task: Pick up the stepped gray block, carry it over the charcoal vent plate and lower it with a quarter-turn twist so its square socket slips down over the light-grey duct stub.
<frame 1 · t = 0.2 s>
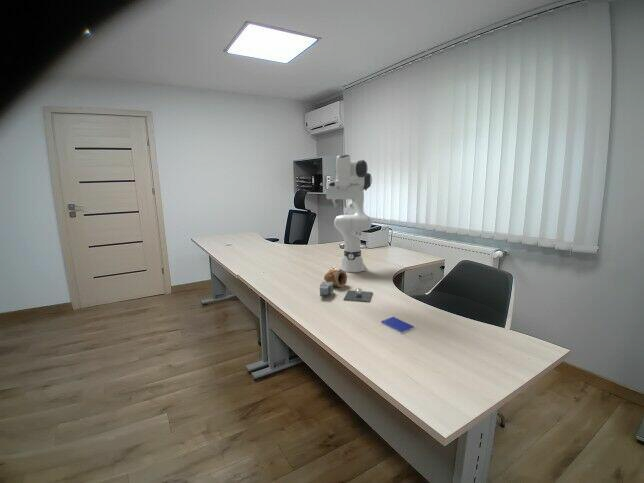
hand: (343, 207, 192), 48 cm above the table, fingers open, 8 cm apart
clay pipe: (335, 284, 203), on the table
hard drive: (397, 327, 146), on the table
stepped gray block: (326, 293, 186), on the table
duct plate: (358, 296, 181), on the table
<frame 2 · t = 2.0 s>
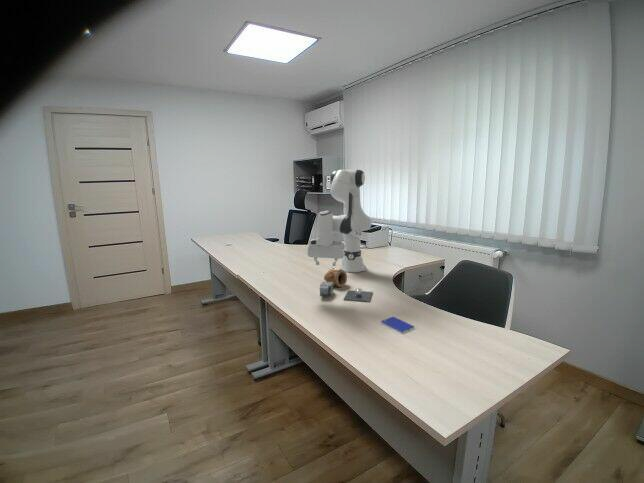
hand: (325, 265, 181), 17 cm above the table, fingers open, 8 cm apart
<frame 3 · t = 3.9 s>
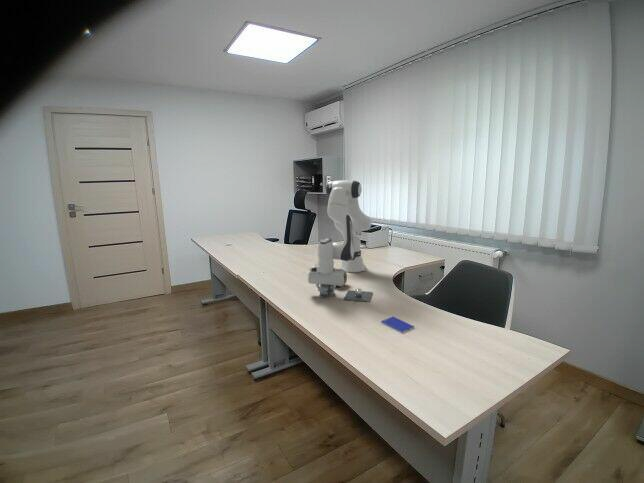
hand: (326, 291, 184), 2 cm above the table, fingers closed on stepped gray block, 6 cm apart
stepped gray block: (326, 293, 186), on the table, touching gripper
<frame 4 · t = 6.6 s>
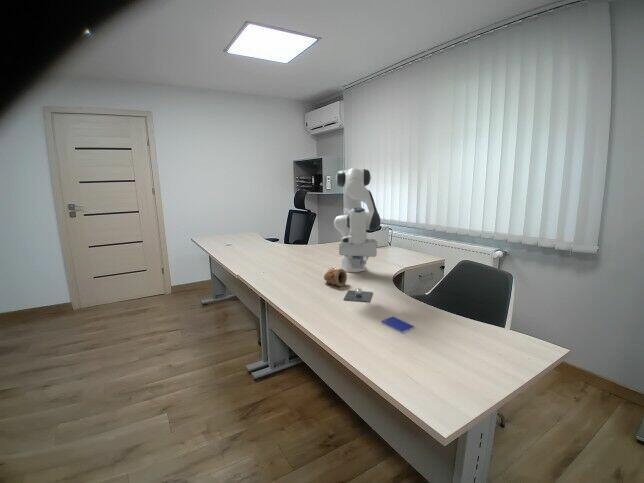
hand: (357, 263, 176), 19 cm above the table, fingers closed on stepped gray block, 6 cm apart
stepped gray block: (358, 266, 178), point 17 cm above the table, touching gripper
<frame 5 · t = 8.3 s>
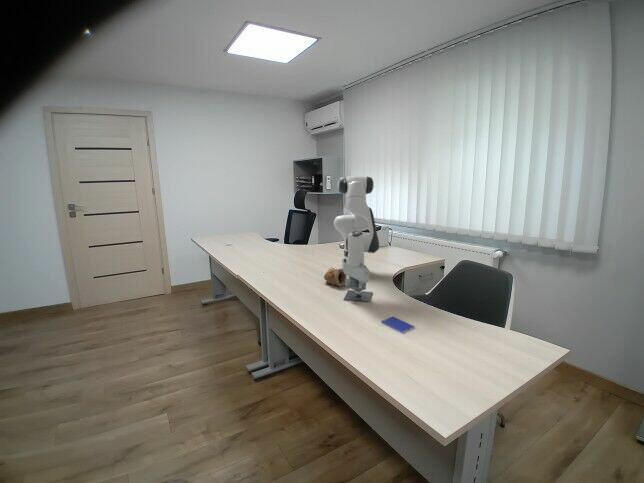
hand: (355, 285, 179), 6 cm above the table, fingers closed on stepped gray block, 6 cm apart
stepped gray block: (358, 288, 180), point 5 cm above the table, touching gripper
when the fingers open (3 cm above the table, at t = 9.5 s): stepped gray block stays where it is, resting on duct plate.
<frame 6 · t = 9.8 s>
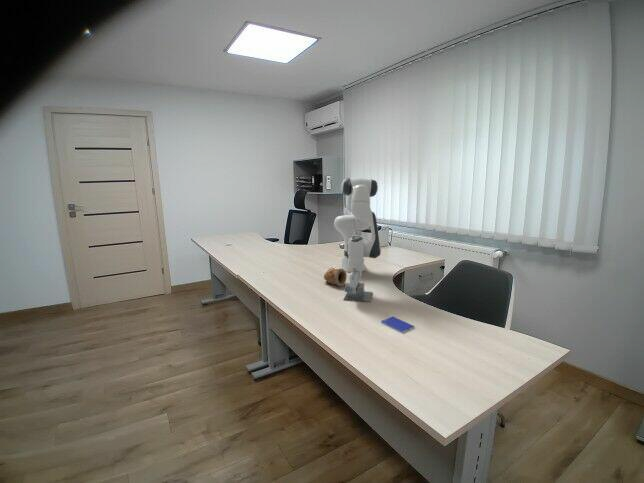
hand: (355, 290, 181), 3 cm above the table, fingers open, 8 cm apart
stepped gray block: (358, 295, 181), point 1 cm above the table, touching duct plate
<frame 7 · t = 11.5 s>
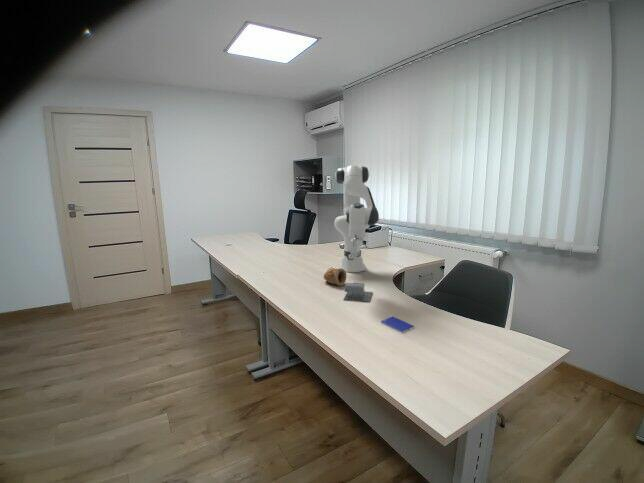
hand: (356, 257, 182), 21 cm above the table, fingers open, 8 cm apart
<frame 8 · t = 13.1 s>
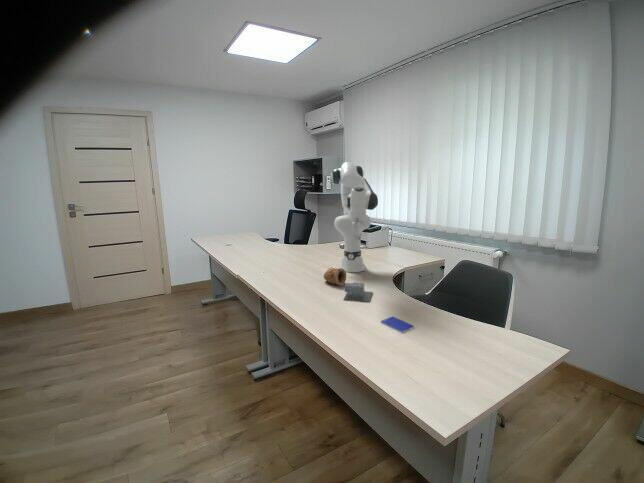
hand: (357, 241, 185), 29 cm above the table, fingers open, 8 cm apart
at the end: stepped gray block 0.2 cm off-centre on the duct plate, point 0.6 cm above the duct plate's base; stepped gray block tilted 0°; the gripper is holding nothing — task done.
